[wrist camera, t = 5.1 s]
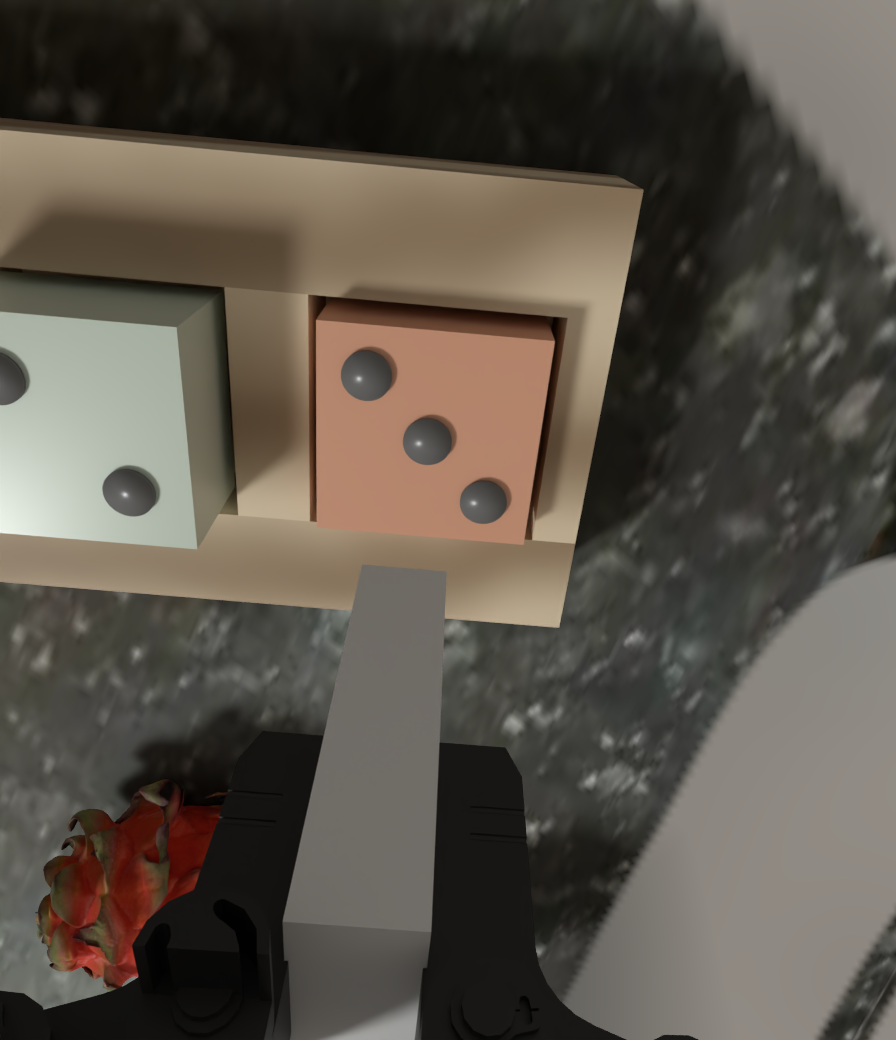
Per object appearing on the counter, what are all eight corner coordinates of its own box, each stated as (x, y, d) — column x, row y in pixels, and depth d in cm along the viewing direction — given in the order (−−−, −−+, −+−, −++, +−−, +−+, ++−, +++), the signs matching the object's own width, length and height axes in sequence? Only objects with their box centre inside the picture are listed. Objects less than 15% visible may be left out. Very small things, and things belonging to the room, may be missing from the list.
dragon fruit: (82, 814, 40) (282, 722, 39) (136, 976, 38) (345, 885, 37) (-48, 867, 31) (201, 752, 30) (14, 1076, 30) (279, 964, 29)
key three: (338, 286, 24) (314, 321, 20) (542, 305, 24) (555, 342, 20) (336, 471, 27) (315, 529, 23) (516, 486, 27) (523, 547, 23)
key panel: (-361, 84, 22) (-515, 81, 19) (617, 175, 23) (643, 189, 19) (-200, 502, 29) (-292, 558, 26) (548, 565, 30) (559, 627, 26)
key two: (1, 270, 22) (-92, 305, 18) (223, 290, 22) (174, 329, 18) (41, 470, 25) (-31, 533, 21) (235, 486, 25) (195, 551, 21)
